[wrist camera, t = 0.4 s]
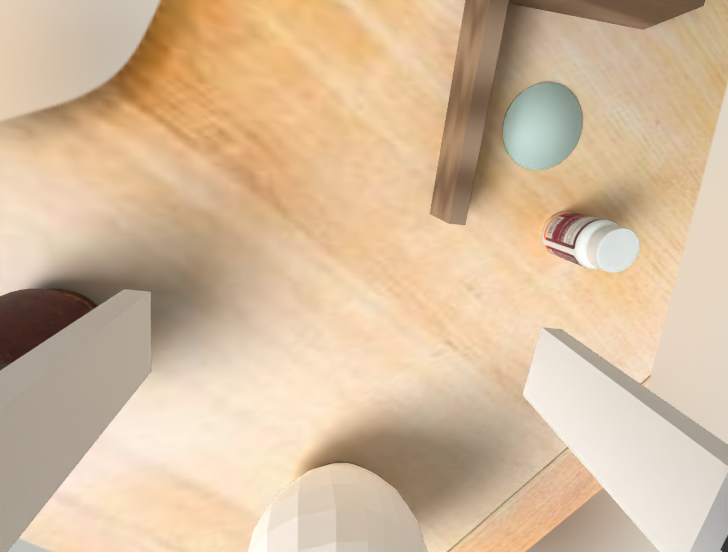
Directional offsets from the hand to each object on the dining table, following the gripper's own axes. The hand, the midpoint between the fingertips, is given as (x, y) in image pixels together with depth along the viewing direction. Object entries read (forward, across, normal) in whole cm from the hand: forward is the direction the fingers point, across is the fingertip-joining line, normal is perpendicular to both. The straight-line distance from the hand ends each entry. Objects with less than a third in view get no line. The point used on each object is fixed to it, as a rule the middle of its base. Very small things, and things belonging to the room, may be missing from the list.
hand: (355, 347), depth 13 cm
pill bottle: (+27, +25, +2) cm, 37 cm away
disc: (+27, +19, +12) cm, 35 cm away
